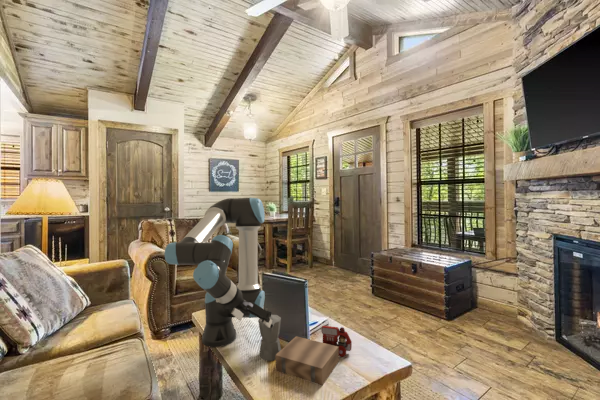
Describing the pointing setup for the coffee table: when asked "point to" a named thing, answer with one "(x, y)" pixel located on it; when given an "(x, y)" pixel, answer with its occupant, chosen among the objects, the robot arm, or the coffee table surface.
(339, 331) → the toy fire truck
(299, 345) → the brown wooden block
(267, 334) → the coffeepot
